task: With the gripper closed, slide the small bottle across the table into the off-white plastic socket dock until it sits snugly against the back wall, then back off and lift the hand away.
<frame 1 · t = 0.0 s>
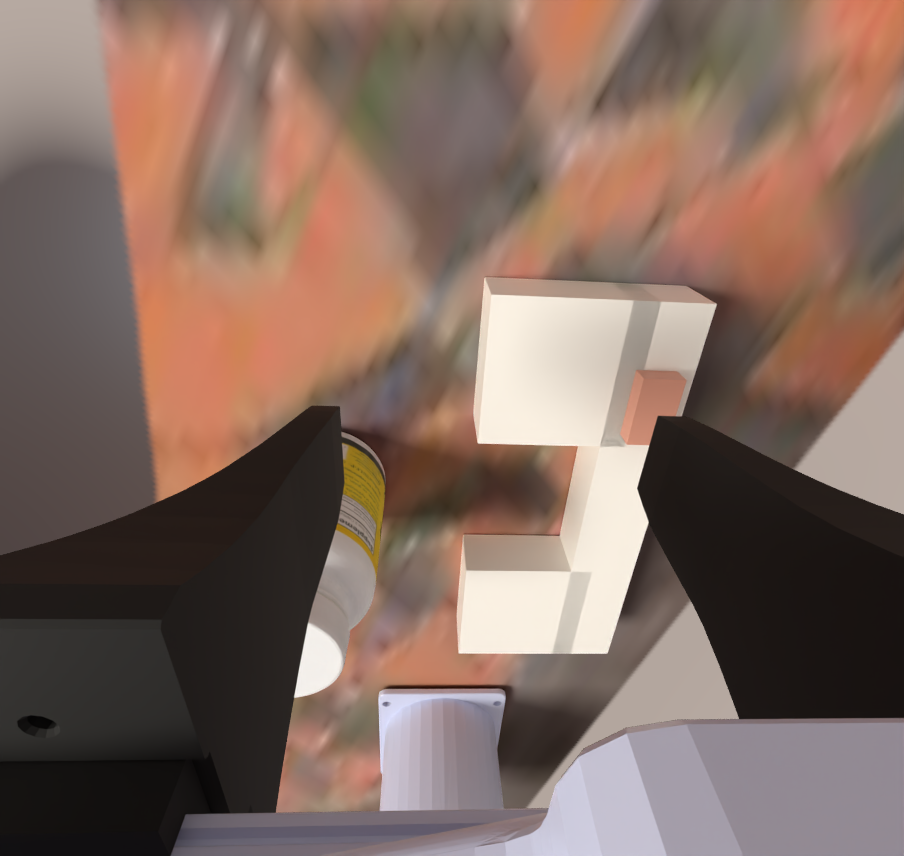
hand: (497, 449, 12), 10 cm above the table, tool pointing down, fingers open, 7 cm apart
socket dock: (499, 479, 25), on the table
supplement bottle: (331, 472, 24), on the table
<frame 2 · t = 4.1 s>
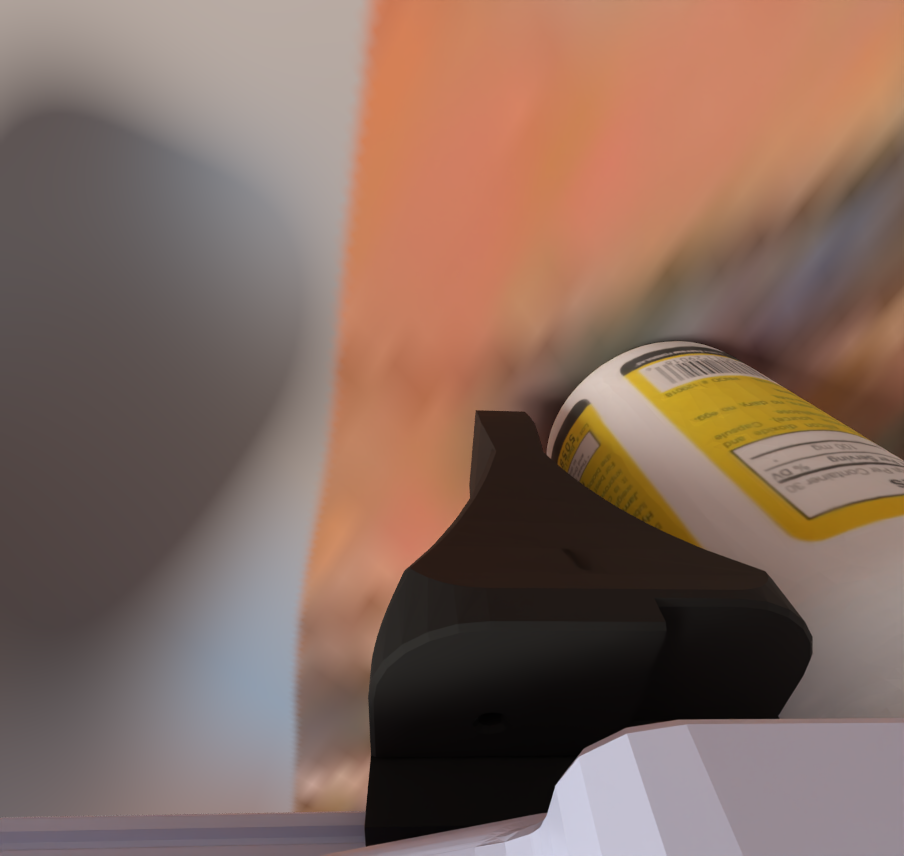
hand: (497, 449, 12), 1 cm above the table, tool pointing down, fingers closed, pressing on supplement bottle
supplement bottle: (643, 433, 13), on the table, touching gripper
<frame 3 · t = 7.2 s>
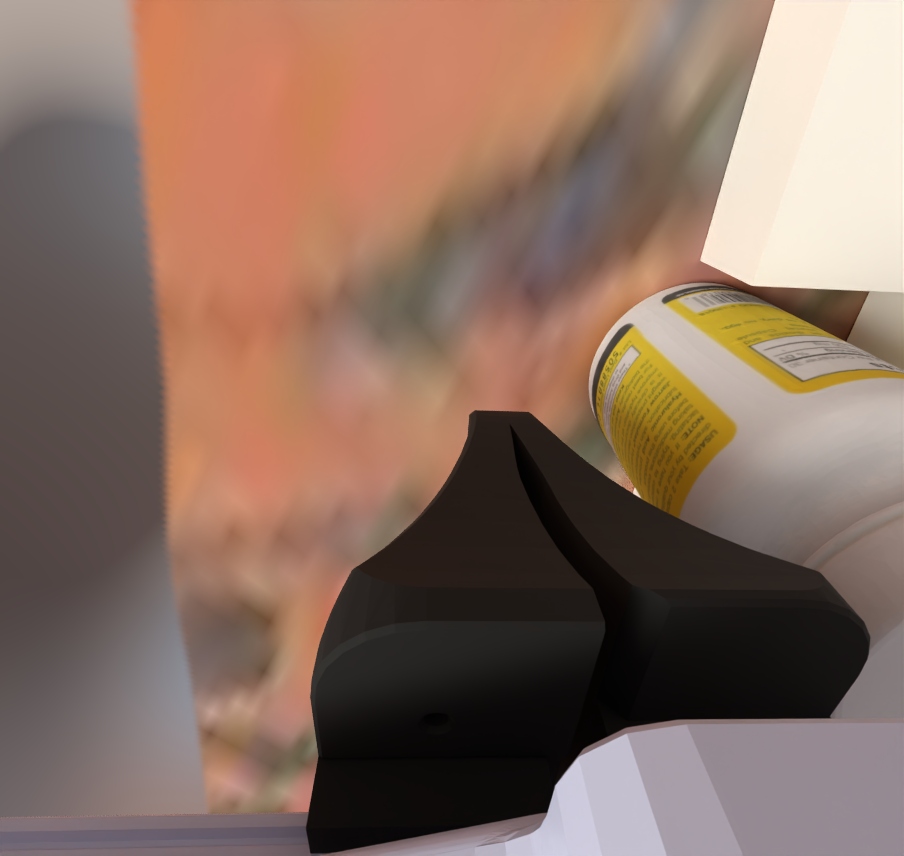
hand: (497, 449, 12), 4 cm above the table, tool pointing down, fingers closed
socket dock: (713, 382, 15), on the table
supplement bottle: (674, 368, 15), on the table
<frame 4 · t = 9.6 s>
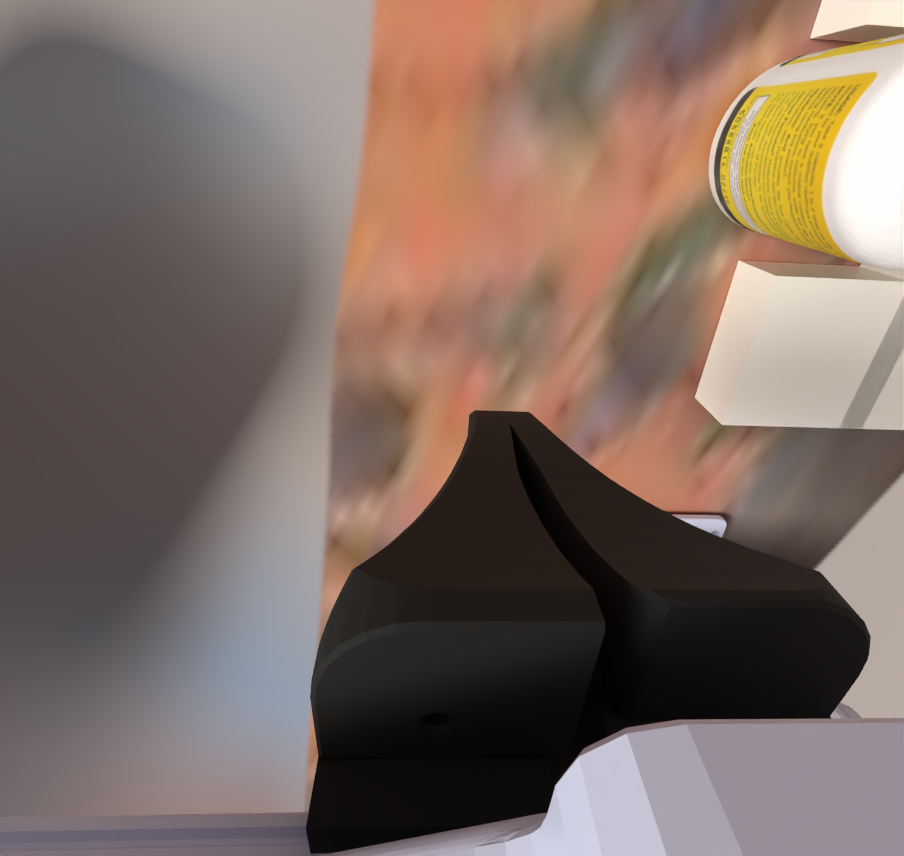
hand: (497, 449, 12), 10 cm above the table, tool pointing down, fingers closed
socket dock: (810, 162, 18), on the table
supplement bottle: (778, 149, 18), on the table
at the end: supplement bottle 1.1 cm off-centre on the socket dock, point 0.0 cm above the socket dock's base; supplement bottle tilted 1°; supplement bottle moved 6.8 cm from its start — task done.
